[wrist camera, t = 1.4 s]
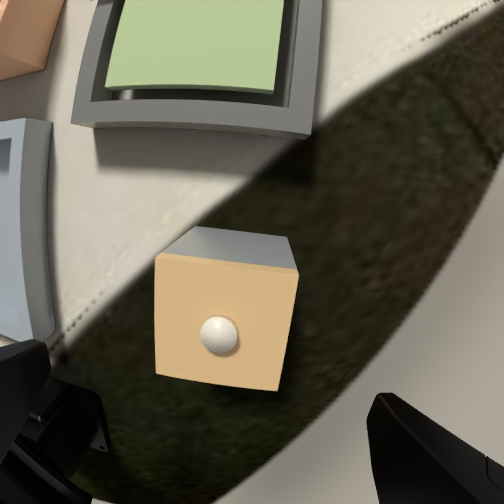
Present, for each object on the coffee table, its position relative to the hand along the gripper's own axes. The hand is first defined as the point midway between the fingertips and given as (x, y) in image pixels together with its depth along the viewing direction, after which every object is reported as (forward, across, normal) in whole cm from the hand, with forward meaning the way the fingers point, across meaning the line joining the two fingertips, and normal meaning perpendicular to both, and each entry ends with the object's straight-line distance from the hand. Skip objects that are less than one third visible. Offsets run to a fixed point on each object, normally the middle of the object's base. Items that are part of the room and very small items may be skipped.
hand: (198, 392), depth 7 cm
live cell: (+9, 0, 0) cm, 9 cm away
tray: (+9, +16, -1) cm, 18 cm away
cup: (+9, +16, -14) cm, 23 cm away
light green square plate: (+8, +3, -13) cm, 15 cm away
